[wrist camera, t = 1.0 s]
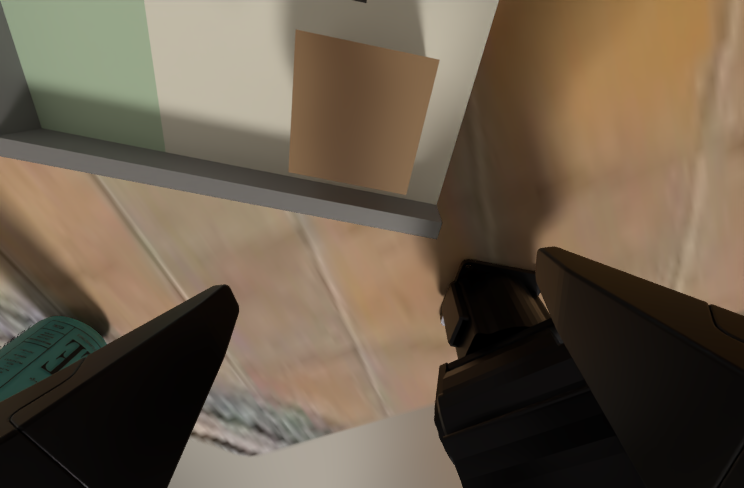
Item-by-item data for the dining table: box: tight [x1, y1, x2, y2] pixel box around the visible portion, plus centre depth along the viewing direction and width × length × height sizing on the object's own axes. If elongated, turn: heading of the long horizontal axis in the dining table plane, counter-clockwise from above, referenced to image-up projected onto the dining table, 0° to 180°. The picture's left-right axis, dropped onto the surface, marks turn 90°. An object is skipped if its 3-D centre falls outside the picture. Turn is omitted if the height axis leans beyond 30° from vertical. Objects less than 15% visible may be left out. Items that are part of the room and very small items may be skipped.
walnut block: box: [288, 29, 440, 195], centre depth 14 cm, size 5×5×5 cm
